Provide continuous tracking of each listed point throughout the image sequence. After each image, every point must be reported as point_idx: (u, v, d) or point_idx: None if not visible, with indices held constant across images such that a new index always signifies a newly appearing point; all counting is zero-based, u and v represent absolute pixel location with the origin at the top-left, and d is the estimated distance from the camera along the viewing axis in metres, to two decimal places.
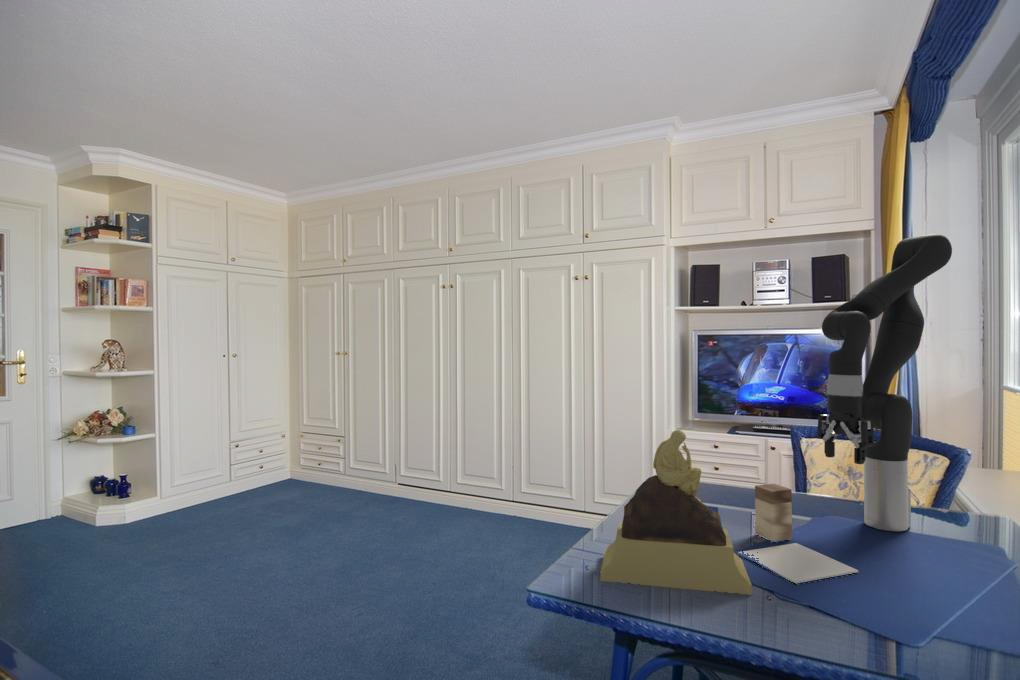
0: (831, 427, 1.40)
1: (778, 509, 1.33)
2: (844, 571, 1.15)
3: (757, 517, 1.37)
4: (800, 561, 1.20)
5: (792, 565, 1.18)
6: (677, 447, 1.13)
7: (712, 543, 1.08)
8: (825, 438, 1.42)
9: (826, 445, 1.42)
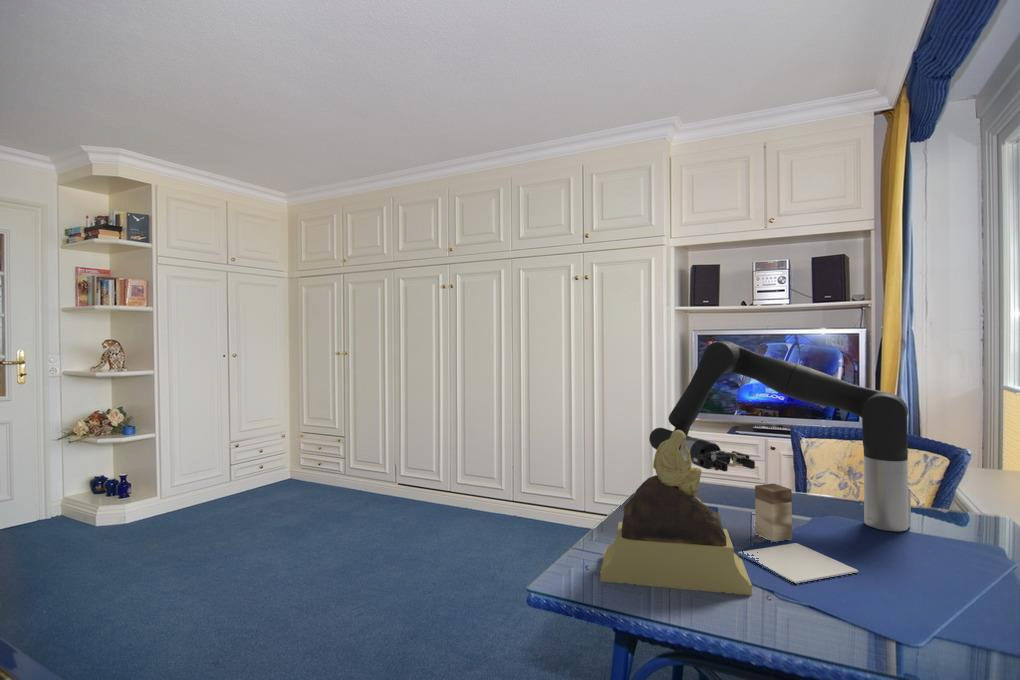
0: None
1: (778, 509, 1.33)
2: (844, 571, 1.15)
3: (757, 517, 1.37)
4: (800, 561, 1.20)
5: (792, 565, 1.18)
6: (677, 447, 1.13)
7: (712, 543, 1.08)
8: None
9: None
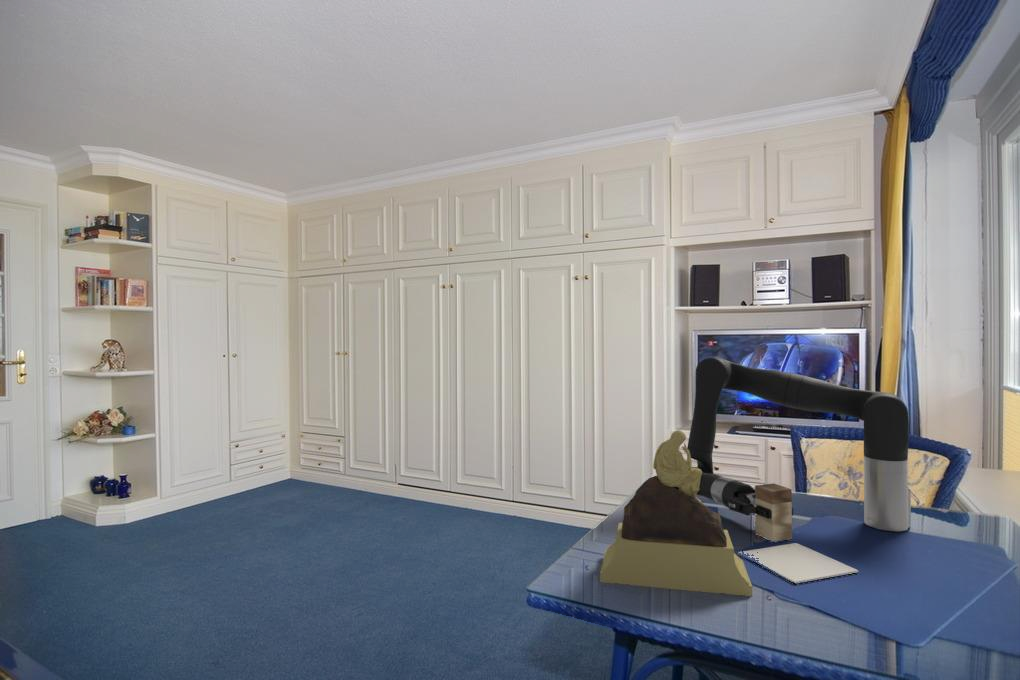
0: None
1: (778, 509, 1.33)
2: (844, 571, 1.15)
3: (757, 516, 1.37)
4: (800, 561, 1.20)
5: (792, 565, 1.18)
6: (677, 448, 1.12)
7: (712, 544, 1.08)
8: None
9: None
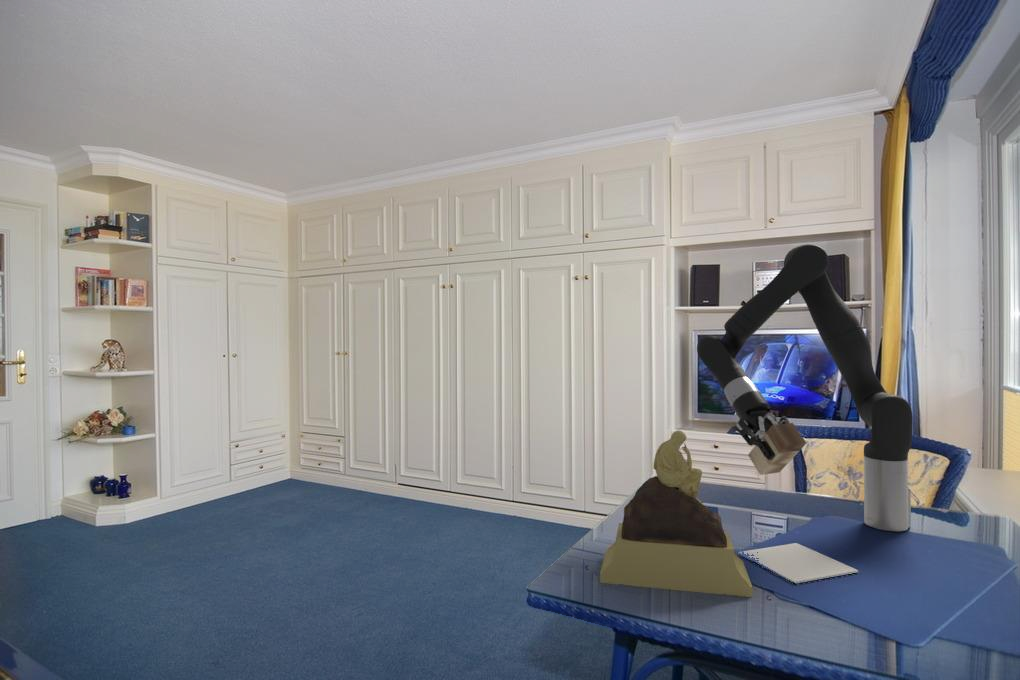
0: None
1: (782, 455, 1.29)
2: (844, 571, 1.15)
3: None
4: (800, 561, 1.20)
5: (792, 565, 1.18)
6: (677, 448, 1.12)
7: (712, 544, 1.07)
8: None
9: None
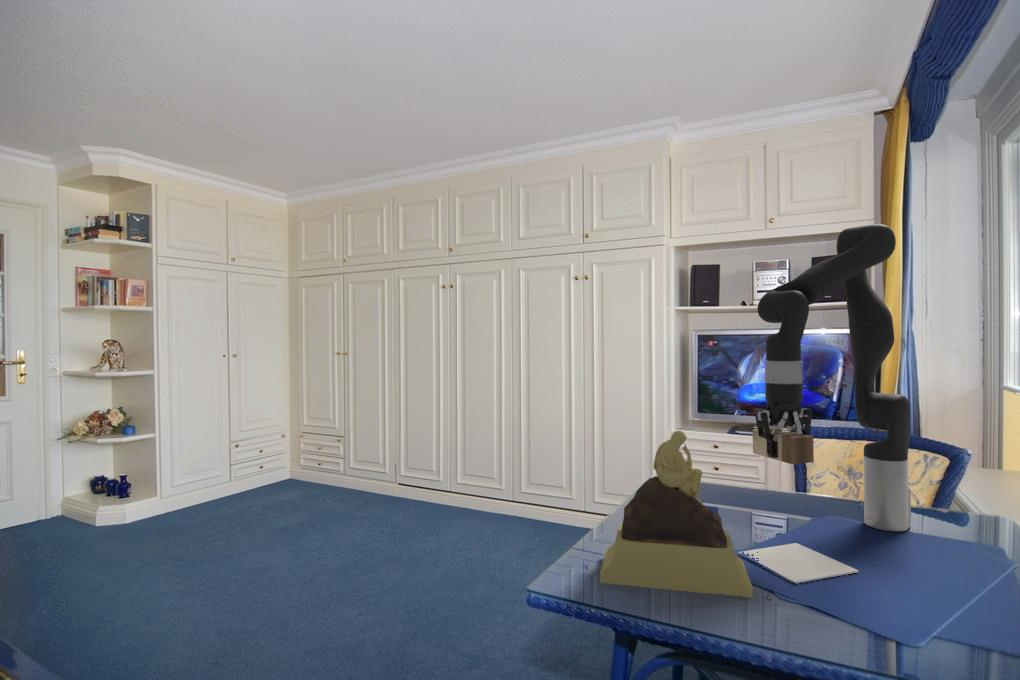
0: None
1: None
2: (844, 571, 1.15)
3: None
4: (800, 561, 1.20)
5: (792, 565, 1.18)
6: (677, 448, 1.12)
7: (712, 545, 1.07)
8: None
9: None
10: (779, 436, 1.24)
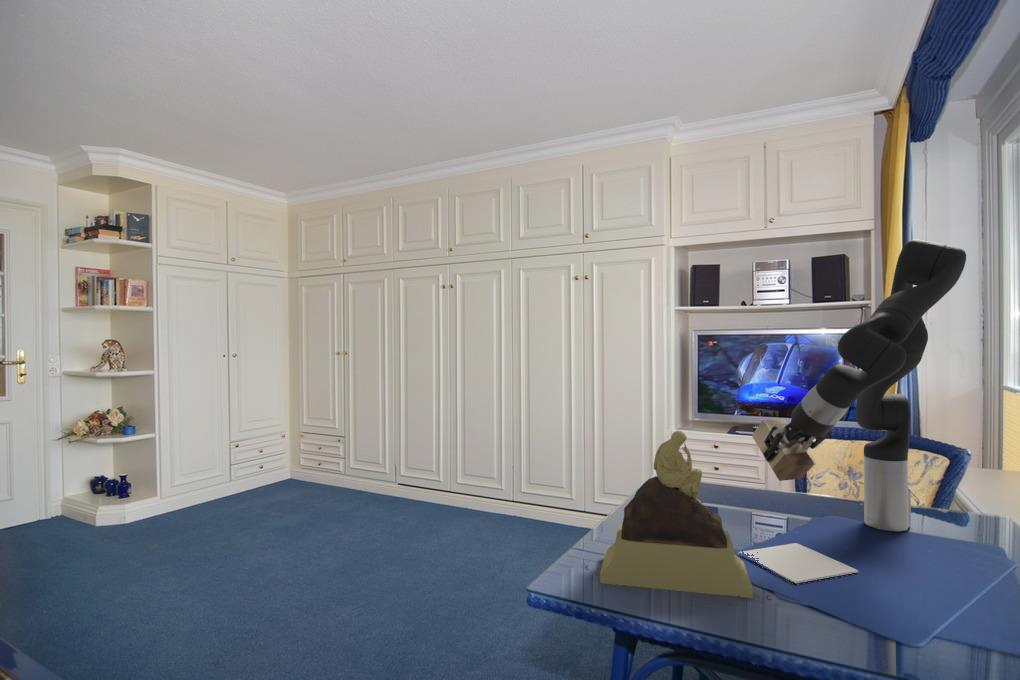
0: None
1: None
2: (844, 571, 1.15)
3: None
4: (800, 561, 1.20)
5: (792, 565, 1.18)
6: (677, 448, 1.12)
7: (712, 545, 1.07)
8: None
9: None
10: (782, 452, 1.20)
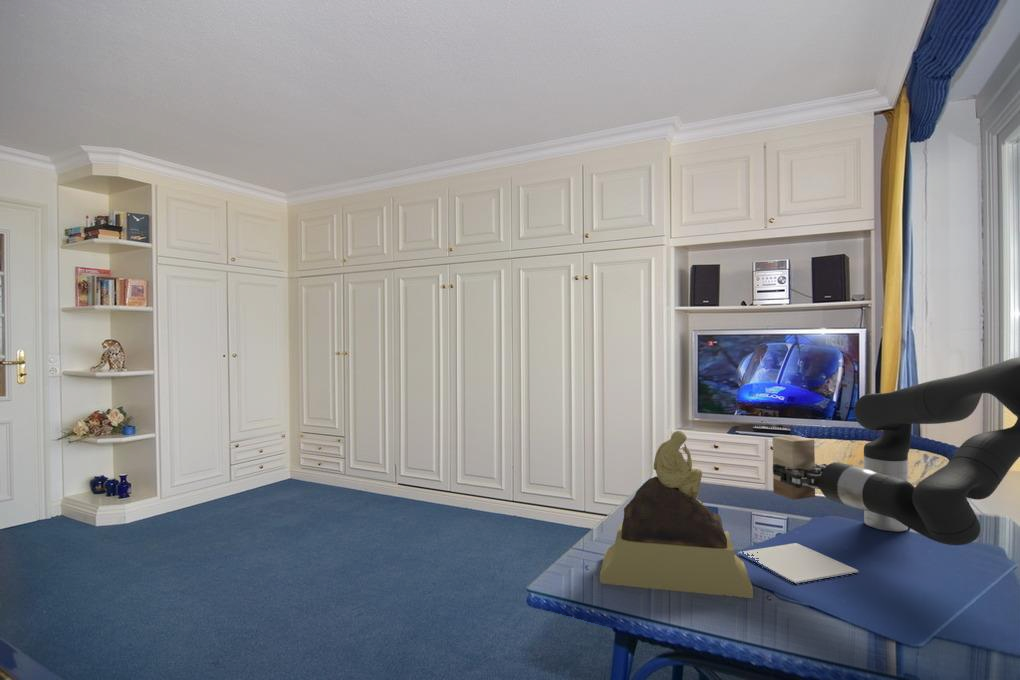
0: (823, 466, 1.15)
1: None
2: (844, 571, 1.15)
3: (789, 462, 1.18)
4: (800, 561, 1.20)
5: (792, 565, 1.18)
6: (677, 448, 1.11)
7: (712, 545, 1.07)
8: (815, 464, 1.19)
9: None
10: None
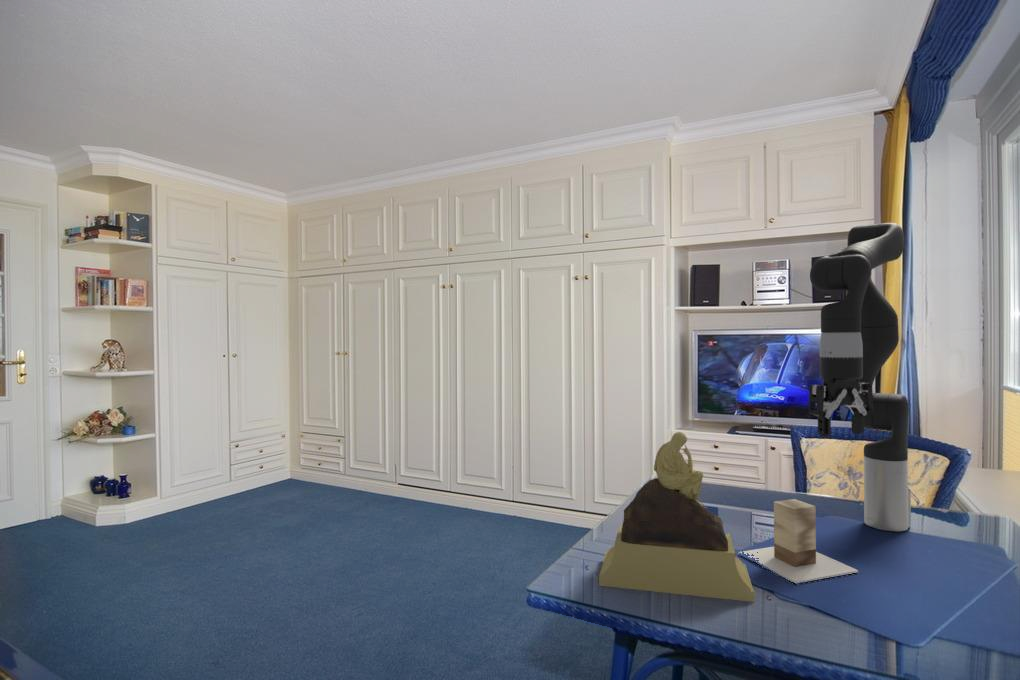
0: None
1: None
2: (844, 571, 1.15)
3: (791, 530, 1.18)
4: None
5: None
6: (678, 450, 1.10)
7: (713, 548, 1.06)
8: None
9: None
10: (793, 548, 1.17)
